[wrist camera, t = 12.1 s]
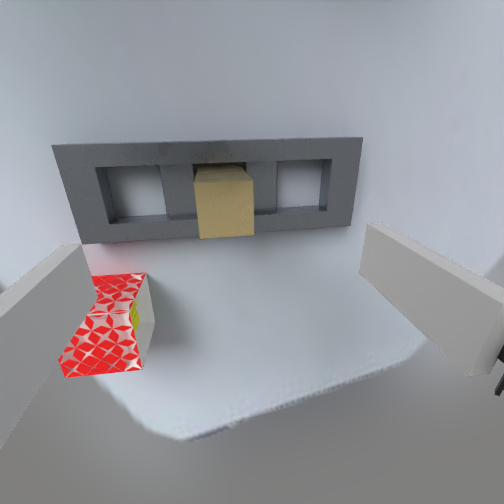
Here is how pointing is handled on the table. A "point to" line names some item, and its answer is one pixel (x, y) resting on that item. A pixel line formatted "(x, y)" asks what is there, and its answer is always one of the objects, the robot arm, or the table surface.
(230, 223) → the brass peg
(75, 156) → the rail
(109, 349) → the red patterned cube
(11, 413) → the robot arm
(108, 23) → the table surface
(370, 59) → the table surface
